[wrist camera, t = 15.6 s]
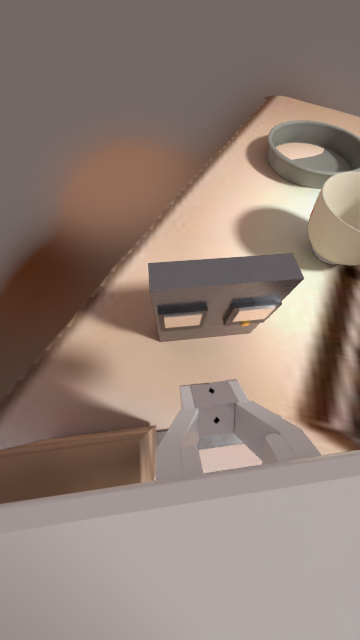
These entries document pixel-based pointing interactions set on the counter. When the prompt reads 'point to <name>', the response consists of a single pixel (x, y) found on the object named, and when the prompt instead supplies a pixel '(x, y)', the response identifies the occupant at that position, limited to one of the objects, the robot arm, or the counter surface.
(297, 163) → the cake pan
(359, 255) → the bowl
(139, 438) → the brown flat angular block
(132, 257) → the counter surface
